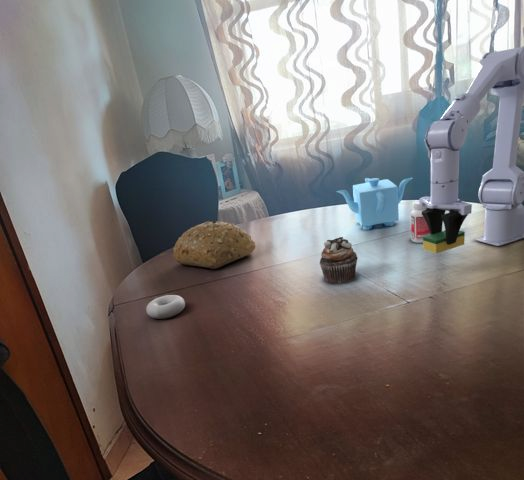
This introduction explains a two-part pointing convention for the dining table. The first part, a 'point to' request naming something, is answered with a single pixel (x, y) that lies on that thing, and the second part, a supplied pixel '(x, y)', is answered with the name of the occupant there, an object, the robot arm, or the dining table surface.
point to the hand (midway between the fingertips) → (443, 241)
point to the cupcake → (338, 261)
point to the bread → (212, 245)
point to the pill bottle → (418, 223)
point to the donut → (165, 306)
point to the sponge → (441, 242)
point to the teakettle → (375, 201)
